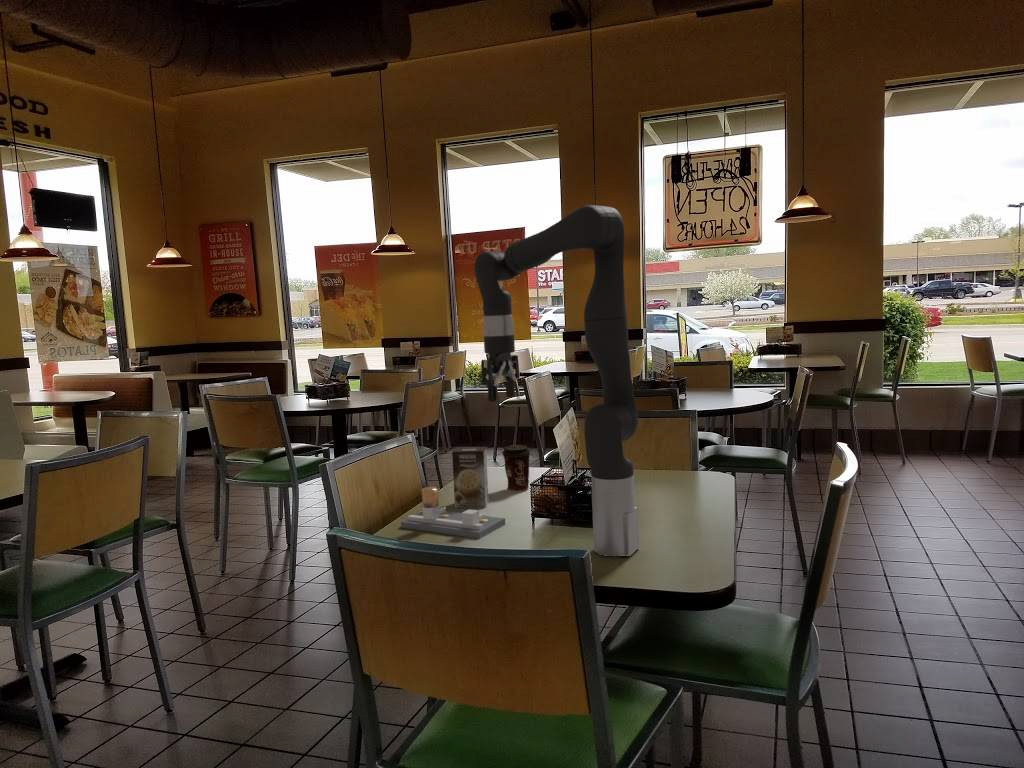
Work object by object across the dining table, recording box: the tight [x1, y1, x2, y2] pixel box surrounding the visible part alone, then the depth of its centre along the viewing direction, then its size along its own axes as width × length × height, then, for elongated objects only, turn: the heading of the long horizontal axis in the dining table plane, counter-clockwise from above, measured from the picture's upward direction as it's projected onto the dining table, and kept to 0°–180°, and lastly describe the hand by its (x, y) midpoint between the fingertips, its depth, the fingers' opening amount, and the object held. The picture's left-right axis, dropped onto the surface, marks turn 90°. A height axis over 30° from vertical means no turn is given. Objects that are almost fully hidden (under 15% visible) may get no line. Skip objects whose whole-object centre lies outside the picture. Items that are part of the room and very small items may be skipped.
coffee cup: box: [502, 444, 531, 493], centre depth 217 cm, size 9×8×13 cm
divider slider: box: [421, 486, 447, 520], centre depth 185 cm, size 4×8×8 cm, turn 150°
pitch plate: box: [400, 509, 506, 539], centre depth 185 cm, size 24×12×6 cm, turn 60°
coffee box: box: [451, 446, 490, 509], centre depth 203 cm, size 9×6×16 cm
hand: (502, 399), depth 180 cm, fingers open, 8 cm apart
